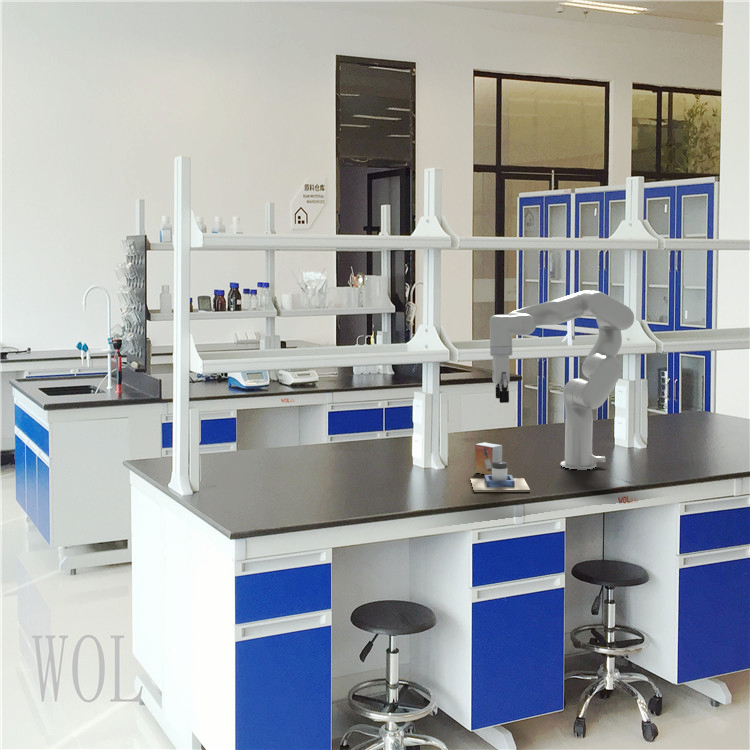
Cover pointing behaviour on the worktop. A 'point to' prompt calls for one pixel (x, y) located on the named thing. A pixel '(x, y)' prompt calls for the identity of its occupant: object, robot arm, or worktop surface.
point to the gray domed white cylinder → (499, 470)
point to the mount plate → (499, 483)
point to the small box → (486, 457)
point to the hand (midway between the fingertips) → (502, 400)
